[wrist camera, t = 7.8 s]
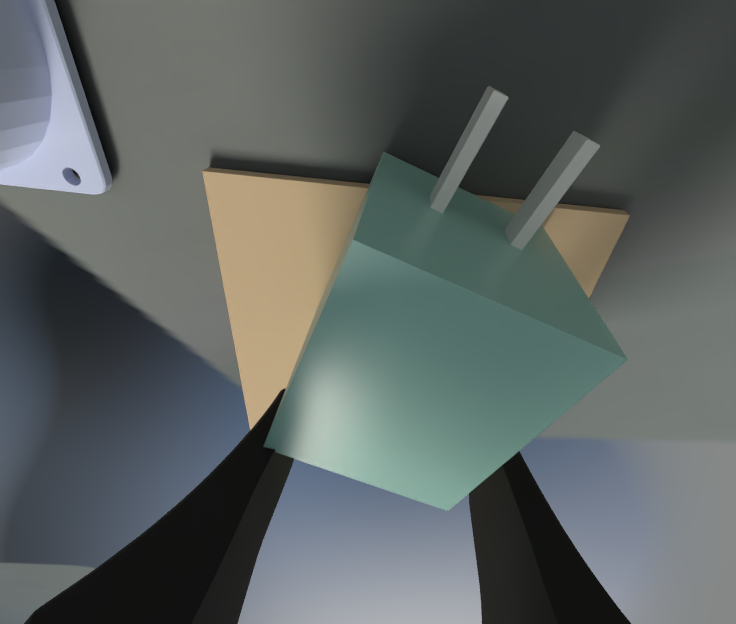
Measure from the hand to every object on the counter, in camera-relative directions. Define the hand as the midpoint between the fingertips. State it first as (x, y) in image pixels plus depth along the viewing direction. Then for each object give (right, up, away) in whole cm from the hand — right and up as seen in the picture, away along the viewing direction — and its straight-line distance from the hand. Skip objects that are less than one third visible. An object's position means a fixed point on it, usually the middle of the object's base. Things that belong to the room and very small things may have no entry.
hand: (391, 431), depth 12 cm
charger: (+1, +6, 0) cm, 6 cm away
